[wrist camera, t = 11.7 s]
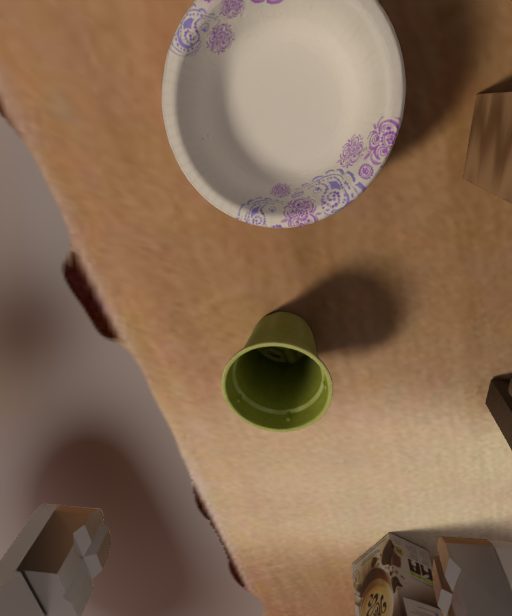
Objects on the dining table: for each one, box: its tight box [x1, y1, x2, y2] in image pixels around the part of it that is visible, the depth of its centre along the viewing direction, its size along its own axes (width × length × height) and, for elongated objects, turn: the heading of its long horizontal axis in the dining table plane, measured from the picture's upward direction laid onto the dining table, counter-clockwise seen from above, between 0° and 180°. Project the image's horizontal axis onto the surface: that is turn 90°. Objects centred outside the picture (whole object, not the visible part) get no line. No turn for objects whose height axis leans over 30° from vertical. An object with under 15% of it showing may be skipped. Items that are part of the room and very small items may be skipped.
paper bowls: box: [162, 0, 406, 228], centre depth 28 cm, size 15×15×8 cm
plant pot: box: [222, 312, 333, 432], centre depth 37 cm, size 9×9×9 cm
